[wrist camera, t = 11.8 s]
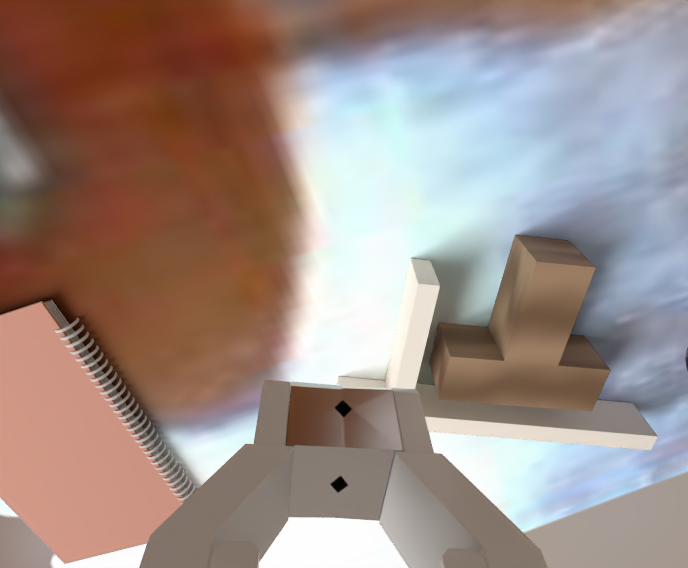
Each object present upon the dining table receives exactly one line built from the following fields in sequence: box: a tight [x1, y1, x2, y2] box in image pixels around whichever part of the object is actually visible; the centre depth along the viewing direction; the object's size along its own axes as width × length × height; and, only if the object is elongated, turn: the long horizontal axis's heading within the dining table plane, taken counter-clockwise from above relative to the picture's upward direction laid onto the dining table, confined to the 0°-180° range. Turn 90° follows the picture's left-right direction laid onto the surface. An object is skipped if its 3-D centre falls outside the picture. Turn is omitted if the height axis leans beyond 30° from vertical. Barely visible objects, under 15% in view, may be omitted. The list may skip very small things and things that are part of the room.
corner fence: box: [337, 258, 658, 450], centre depth 39 cm, size 13×26×4 cm, turn 83°
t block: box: [429, 235, 611, 412], centre depth 38 cm, size 12×12×4 cm
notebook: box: [0, 300, 198, 564], centre depth 45 cm, size 27×17×2 cm, turn 19°
